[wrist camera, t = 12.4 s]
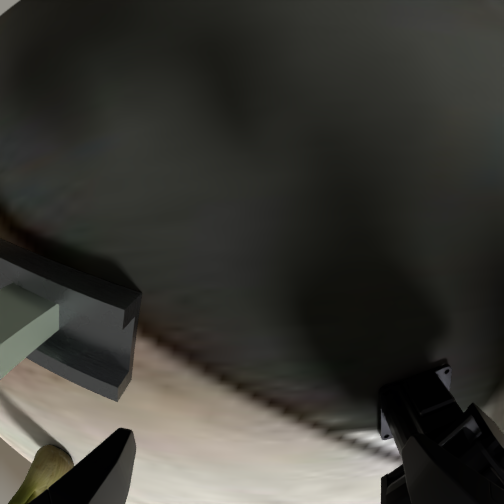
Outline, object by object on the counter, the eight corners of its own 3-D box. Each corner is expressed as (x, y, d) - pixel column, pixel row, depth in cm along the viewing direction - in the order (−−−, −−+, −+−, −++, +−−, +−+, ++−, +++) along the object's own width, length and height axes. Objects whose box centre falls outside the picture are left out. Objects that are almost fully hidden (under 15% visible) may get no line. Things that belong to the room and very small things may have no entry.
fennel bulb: (76, 473, 28) (39, 537, 16) (44, 453, 27) (3, 513, 16) (79, 454, 26) (36, 526, 15) (44, 432, 26) (-5, 497, 14)
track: (142, 292, 21) (124, 310, 18) (131, 379, 23) (117, 401, 20) (-21, 228, 21) (-43, 235, 18) (-18, 305, 22) (-37, 316, 20)
